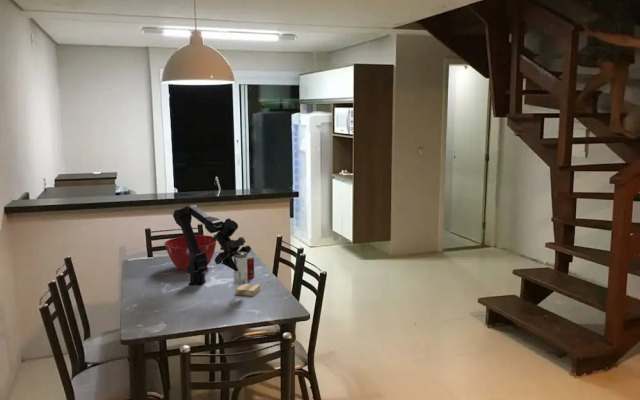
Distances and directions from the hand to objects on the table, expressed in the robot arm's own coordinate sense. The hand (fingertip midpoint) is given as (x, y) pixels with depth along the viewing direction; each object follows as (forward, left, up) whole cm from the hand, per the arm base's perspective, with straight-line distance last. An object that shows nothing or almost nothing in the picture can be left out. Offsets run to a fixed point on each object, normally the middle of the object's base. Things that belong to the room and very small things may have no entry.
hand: (242, 269), depth 239 cm
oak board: (-1, +7, -13) cm, 15 cm away
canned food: (-11, +29, -14) cm, 34 cm away
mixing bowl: (-47, +37, -14) cm, 61 cm away
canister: (-1, +1, -7) cm, 7 cm away
